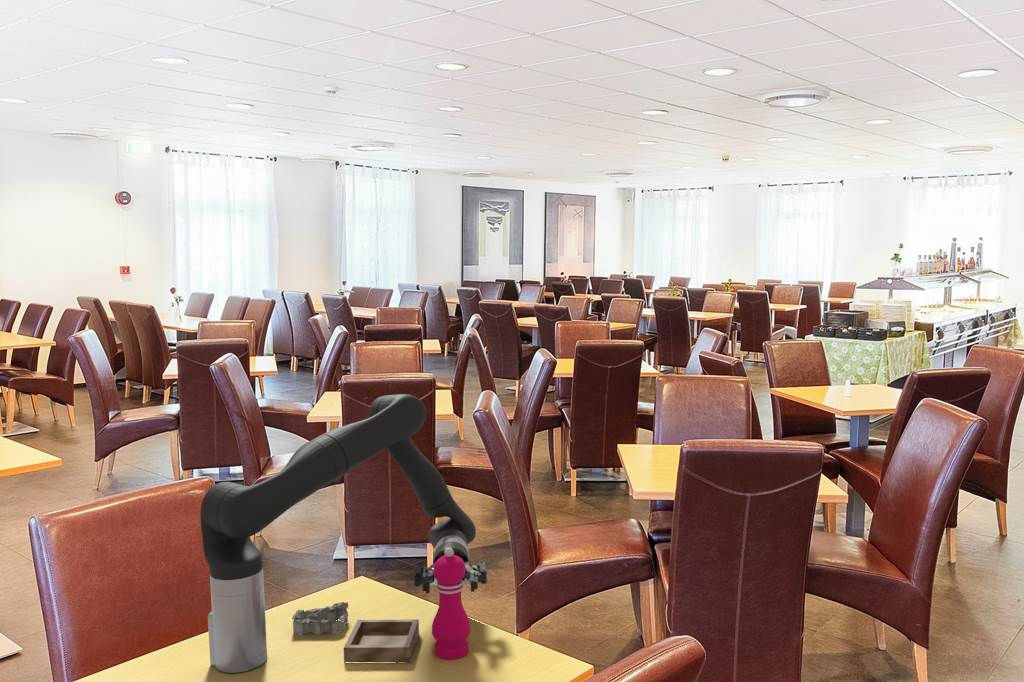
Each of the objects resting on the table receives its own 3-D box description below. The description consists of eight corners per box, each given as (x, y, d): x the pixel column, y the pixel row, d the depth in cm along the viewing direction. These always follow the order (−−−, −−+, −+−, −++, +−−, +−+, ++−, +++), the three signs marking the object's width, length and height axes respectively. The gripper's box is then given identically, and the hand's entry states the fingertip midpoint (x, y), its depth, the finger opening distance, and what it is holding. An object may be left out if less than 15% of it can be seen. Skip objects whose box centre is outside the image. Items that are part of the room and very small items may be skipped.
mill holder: (344, 663, 154) (343, 647, 154) (358, 634, 166) (357, 619, 166) (409, 663, 154) (409, 647, 153) (419, 634, 166) (418, 619, 165)
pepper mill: (465, 662, 154) (462, 555, 152) (427, 659, 155) (424, 553, 153) (475, 644, 161) (472, 542, 159) (438, 641, 162) (435, 540, 160)
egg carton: (351, 620, 173) (350, 601, 173) (342, 636, 166) (342, 616, 166) (300, 620, 174) (299, 601, 174) (289, 636, 166) (288, 616, 166)
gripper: (416, 542, 176) (411, 570, 160) (484, 539, 177) (487, 567, 160) (417, 577, 176) (413, 608, 160) (485, 574, 177) (488, 605, 161)
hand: (450, 587), depth 160 cm, fingers open, 8 cm apart
